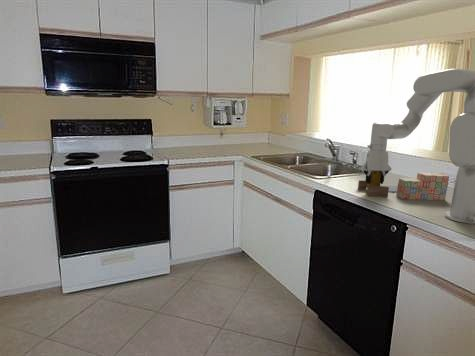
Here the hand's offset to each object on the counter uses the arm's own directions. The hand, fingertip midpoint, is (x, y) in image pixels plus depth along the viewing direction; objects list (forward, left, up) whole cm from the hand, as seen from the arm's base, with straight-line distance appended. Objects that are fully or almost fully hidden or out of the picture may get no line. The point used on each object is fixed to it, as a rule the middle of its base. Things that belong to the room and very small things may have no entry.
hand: (374, 182), depth 179 cm
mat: (+9, -14, -5) cm, 17 cm away
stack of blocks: (-7, -21, -6) cm, 23 cm away
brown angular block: (0, 0, -5) cm, 5 cm away
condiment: (0, -1, -4) cm, 4 cm away
